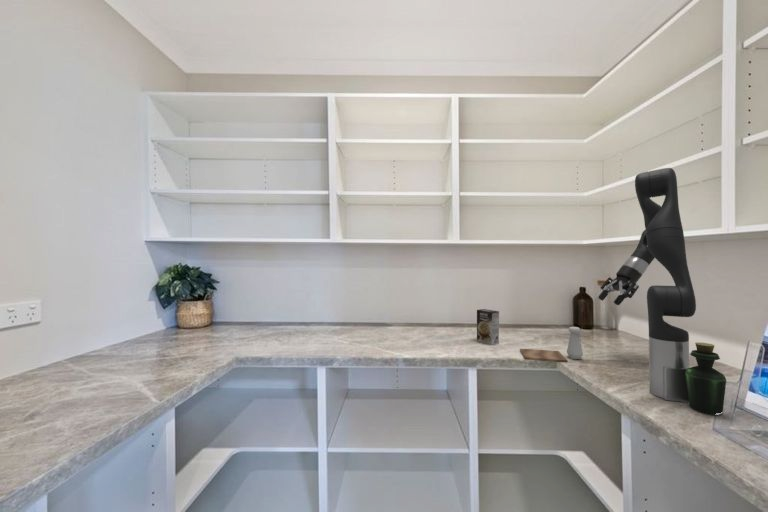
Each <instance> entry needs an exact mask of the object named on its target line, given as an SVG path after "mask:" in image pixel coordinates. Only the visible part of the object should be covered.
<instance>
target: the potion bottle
mask: <svg viewBox="0 0 768 512" xmlns="http://www.w3.org/2000/svg"><path fill="white" fill-rule="evenodd" d="M694 344H695V348H696V349H694V350H691V352H690V353H689V356H692V357H693V358H695V360H696V364H697V365H695V366H694V365H693V366H692V367H689V368H688V369H687V370H686V371H685V375H686V383H687V391H688V399H689V402H688V406H689V407H690V408H691V409H692V410H694V411H696V412H698V413H701V414H705V415H710V416H716V415H715V414H716V413H721V412H723V413H724V404H725V395H726V394H725V393H726V385H727V378H726V376H725V375H724V373H722V372H720V371H719V370H716V368H713V367H714V364H715V361H718V360H721V358H720V356H719V353H718V352H717V353H716V352H714V350H715V344H712V343H707V342H695V343H694Z"/></svg>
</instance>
